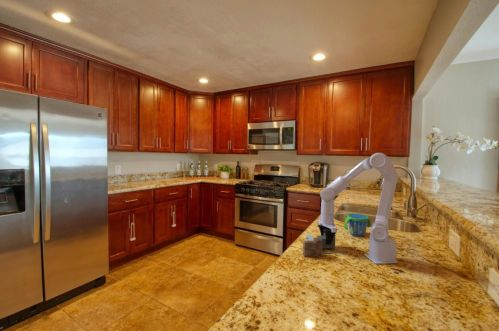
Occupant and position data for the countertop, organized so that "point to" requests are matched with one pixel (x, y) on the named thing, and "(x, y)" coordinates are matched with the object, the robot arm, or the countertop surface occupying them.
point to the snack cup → (357, 224)
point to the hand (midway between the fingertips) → (326, 242)
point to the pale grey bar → (309, 238)
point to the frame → (315, 248)
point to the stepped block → (325, 241)
